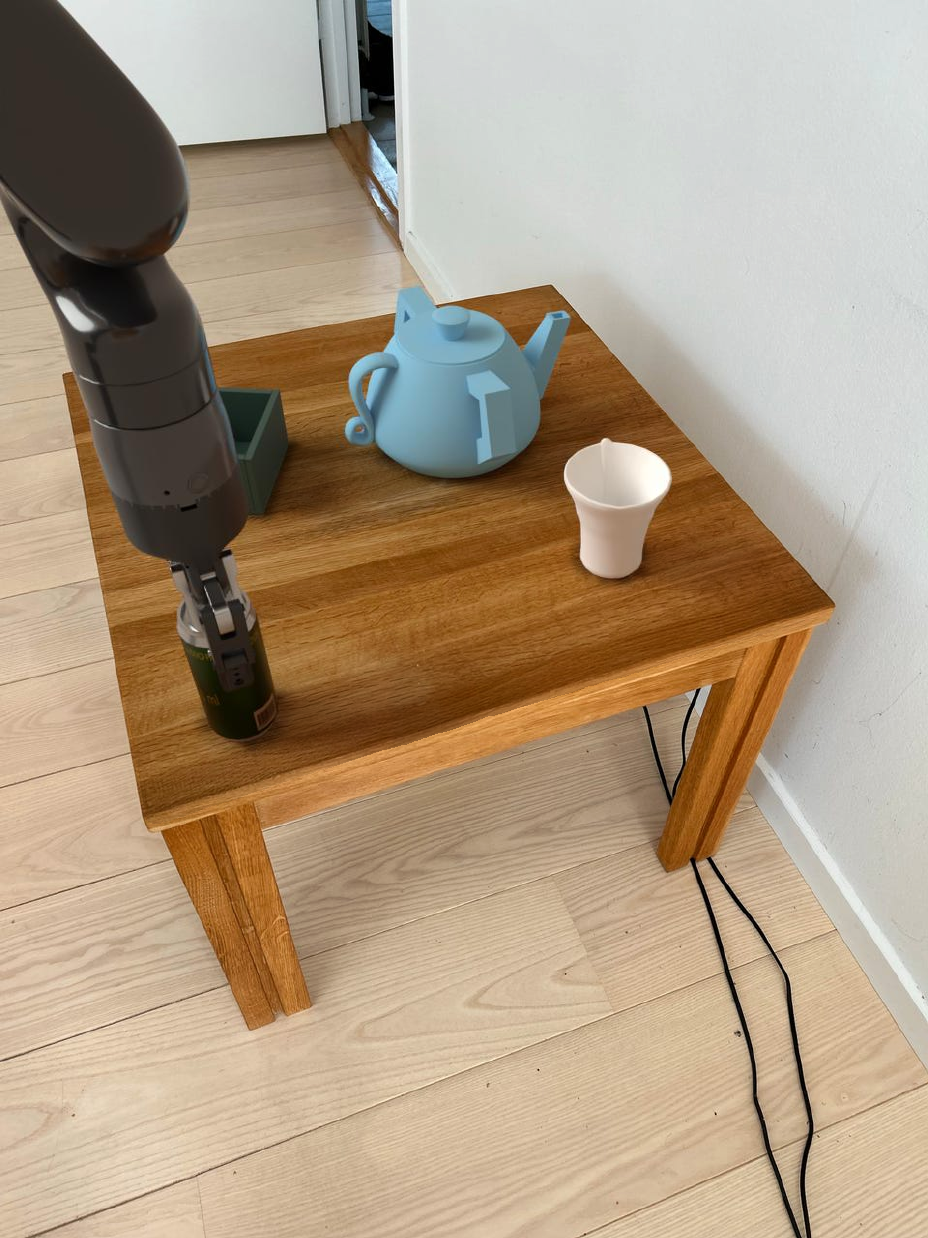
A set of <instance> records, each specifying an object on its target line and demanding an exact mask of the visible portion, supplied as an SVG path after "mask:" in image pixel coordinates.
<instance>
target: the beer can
mask: <svg viewBox="0 0 928 1238" xmlns="http://www.w3.org/2000/svg"><path fill="white" fill-rule="evenodd" d="M239 589H240V592H241V596H242V599H243V602H244V605H245V609H246V615H245V619H246V623H247V627H248V631H249V636H250V640H251V644H252V648H253V649H254V651H255V654H256V657H255V661H256V662H255V663H252V664H251V667H252V671H253V674H254V678H255V681H254V682H253V684H251V685H249V686H246V687H243V688H240V689H237V690H234V691H231V692H225V691H224V690H223V687H222V685H221V682H220V679H219V675H218V672H217V669H216V670H214V668H213V665H212V663H213V659H212V657H209V655H208V652H207V650H209V648H208V645H207V642H206V639H205V635H204V633H203V632H199V631H197V630H195V628H194V627H193V624H192V622H191V619H190V616H189V613H188V610H187V607H186V604H185V601H184V598H183V599H182V600H181V601H180V603H179V605H178V607H177V608H176V609H177V610H176V630H177V633H178V636H179V639H180V642H181V645H182V648H183V651H184V654H185V657H186V660H187V663H188V666H189V669H190V672H191V675H192V678H193V681H194V685H195V687H196V690H197V693H198V696H199V699H200V702H201V705H202V708H203V711H204V714H205V716H206V720H207V723H208V726H209V727H210V729H211V730H212V731H213V733H215V734H216V735H217V736H218V737H220V738H222V739H224V740H227V741H229V742H235V743H246V742H251V741H253V740H256V739H259V738H260V737H262V736H264V735H265V734H266V733H267V732H268V731H269V730H270V729H271V727H272V726H273V725H274V722H275V720H276V717H277V716H278V713H279V702H278V697H277V692H276V688H275V685H274V681H273V677H272V673H271V669H270V663H269V660H268V656H267V652H266V647H265V642H264V640H263V635H262V630H261V626H260V623H259V619H258V613H257V610H256V608H255V605H254V604H253V602H252V601H251V600H250V598H249V596H248V594H247V593H246V592H245V590H243V589H242V588H241V587H239ZM191 594H192V592H191ZM192 597H193V594H192ZM193 600H194V603H195V606H196V609H197V611H198V612H199V610H202V609H205V608H208V607H210V604H209V605H200V604H199V605H197V602H196V601H195V599H194V597H193ZM225 600H226V602H228V601H231V600H232V595H231V592H230V588H229V592H228V596H227V597H226V598H225Z"/></svg>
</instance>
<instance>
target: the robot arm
mask: <svg viewBox="0 0 928 1238" xmlns="http://www.w3.org/2000/svg"><path fill="white" fill-rule="evenodd" d="M0 203H1V205H2V208H3V211H4V212H5V215H6V217H7V219H8V221H9V224H10V226H11V228H12V230H13V233H14V235H15V237H16V239H17V241H18V243H19V245H20V248H21V249H22V252H23V254H24V256H25V257H26V260H27V262H28V263H29V265H30V268H31V270H32V272H33V275H34V276H35V278H36V280H37V282H38V284H39V286H40V288H41V290H42V291H43V293H44V295H45V297H46V299H47V301H48V303H49V306H50V308H51V310H52V312H53V315H54V318H55V320H56V322H57V325H58V328H59V331H60V333H61V337H62V340H63V341H62V342H63V344H64V345H63V346H64V348H65V353H66V356H67V359H68V361H69V365H70V368H71V371H72V374H73V376H74V379H75V382H76V386H77V388H78V391H79V393H80V396H81V399H82V403H83V405H84V408H85V410H86V413H87V418H88V422H89V428H90V434H91V439H92V444H93V447H94V449H95V453H96V456H97V459H98V462H99V464H100V467H101V469H102V473H103V475H104V478H105V482H106V483H107V487H108V489H109V492H110V495H111V498H112V501H113V503H114V507H115V509H116V511H117V515H118V517H119V520H120V523H121V526H122V529H123V531H124V534H125V537H126V538H127V540H128V541H129V542H130V543H131V545H132V546H133V547H134V548H136V549H137V550H138V551H139V552H141V553H144V555H147V556H150V557H153V558H157V559H162V560H165V561H166V563H167V564H168V568H169V572H170V575H171V577H172V581H173V583H174V586H175V589H176V590H177V591H178V592H180V593H181V594H182V595H181V596H182V598H183V599H184V601H185V604H186V607H187V610H188V613H189V616H190V619H191V622H192V624H193V627H194V628H195V630H197V631H199V632H203V633H204V635H205V639H206V642H207V645H208V648H209V650H207V652H208V655H209V657H212V659H213V663H212V665H213V668H214V670H216V669H217V672H218V675H219V679H220V682H221V685H222V687H223V690H224V691H225V692H231V691H234V690H237V689H240V688H243V687H246V686H249V685H251V684H253V682H254V681H255V678H254V674H253V671H252V667H251V664H252V663H255V662H256V661H255V657H256V654H255V651H254V649H253V648H252V644H251V640H250V636H249V631H248V627H247V623H246V619H245V615H246V609H245V605H244V602H243V599H242V596H241V592H240V589H241V588H240V585H239V582H238V580H237V576H238V573H239V569H238V565H237V562H236V559H235V556H234V553H233V551H232V548H231V547H230V546H229V547H227V546H228V545H229V544H230V543H231V542H233V541H234V540H235V539H236V538H237V537H239V535H240V533H241V532H242V531H243V529H244V528H245V525H246V524H247V521H248V519H249V515H250V514H249V506H248V501H247V496H246V492H245V487H244V483H243V478H242V474H241V469H240V465H239V460H238V456H237V452H236V447H235V443H234V438H233V434H232V429H231V425H230V421H229V417H228V414H227V411H226V408H225V405H224V403H223V400H222V398H221V395H220V393H219V390H218V387H219V386H218V384H217V381H216V376H215V371H214V367H213V363H212V358H211V354H210V350H209V346H208V345H209V344H208V341H207V335H206V331H205V328H204V324H203V321H202V317H201V314H200V312H199V308H198V307H197V305H196V302H195V300H194V298H193V297H192V295H191V293H190V292H189V290H188V289H187V287H186V286H185V284H184V283H183V282H182V281H181V279H180V278H179V277H178V275H177V274H176V273H175V271H174V270H173V268H172V266H171V264H170V263H169V260H168V258H167V256H166V253H167V252H168V251H170V249H172V247H173V246H174V245H175V244H176V243H177V241H178V240H179V238H180V237H181V235H182V233H183V231H184V229H185V226H186V223H187V221H188V217H189V212H190V207H191V204H190V203H191V185H190V178H189V174H188V169H187V166H186V163H185V159H184V156H183V154H182V152H181V150H180V147H179V145H178V143H177V141H176V140H175V138H174V136H173V134H172V132H171V131H170V130H169V128H168V126H167V125H166V124H165V122H164V121H163V119H162V118H161V117H160V115H159V114H158V112H157V111H156V110H155V108H154V107H153V106H152V104H150V102H149V101H148V100H147V99H146V97H145V96H144V95H143V94H142V92H141V91H140V90H139V89H138V88H137V87H136V85H135V84H134V83H133V82H132V81H131V80H130V78H129V77H128V76H127V75H126V74H125V73H124V72H123V71H122V69H121V68H120V67H119V66H118V65H117V64H116V62H114V60H113V59H112V58H111V57H110V56H109V55H108V53H106V51H105V50H104V49H103V48H102V47H101V46H100V45H99V44H98V43H97V42H96V40H95V39H94V38H93V37H92V36H91V35H90V34H89V32H87V31H86V30H85V28H84V27H83V26H82V25H81V24H80V23H79V21H77V19H76V18H75V17H74V16H73V15H72V14H71V13H70V12H69V10H68V9H67V8H66V7H65V6H64V5H63V4H62V3H61V2H60V1H59V0H0ZM229 588H230V592H231V595H232V600H231V601H228V602H226V600H225V598H226V597H227V596H228V592H229ZM239 588H240V589H239ZM191 592H192V594H193V597H194V599H195V601H196V602H197V605H199V604H200V605H209V604H210V607H208V608H205V609H202V610H199V612H198V611H197V609H196V606H195V603H194V600H193V597H192V594H191Z"/></svg>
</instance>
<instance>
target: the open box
mask: <svg viewBox="0 0 928 1238" xmlns="http://www.w3.org/2000/svg"><path fill="white" fill-rule="evenodd" d="M217 387H218V390H219V393H220V395H221V398H222V400H223V403H224V405H225V408H226V411H227V414H228V417H229V421H230V425H231V429H232V434H233V438H234V443H235V447H236V452H237V456H238V460H239V465H240V469H241V474H242V478H243V483H244V487H245V492H246V496H247V501H248V506H249V514H248V515H257V516H264V513H265V511H266V508H267V505H268V503H269V499H270V497H271V494H272V492H273V490H274V486H275V484H276V481H277V478H278V476H279V472H280V470H281V468H282V465H283V463H284V459H285V456H286V454H287V451H288V448H289V446H290V441H289V435H288V429H287V424H286V417H285V412H284V406H283V400H282V394H281V390H280V389H268V388H265V389H264V388H245V387H223V386H217Z"/></svg>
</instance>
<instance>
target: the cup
mask: <svg viewBox="0 0 928 1238" xmlns="http://www.w3.org/2000/svg"><path fill="white" fill-rule="evenodd" d="M563 478H564V479H563V480H564V483H565V487H566V489H567V491H568V492H569V494H570V496H571V497H572V499H573V501H574V503H575V510H576V514H577V516H578V519H579V523H580V524H579V525H580V526H579V527H580V549H579V559H580V561H581V563H582V565H583V567H584V568H585V569H587V570H588V571H589V572H590V573H591V574H593V575H595V576H598V577H601V578H603V579H604V578H605V579H611V580H612V579H621V578H626V577H627V576H630V575H631V574H632V573H634V572H635V571H636V570H638V569H639V567H640V566H641V564H642V562H643V561H642V559H643V547H644V542H645V538H646V534H647V533H648V528H649V525H650V523H651V521H652V519H653V518H654V514H655V511H656V509H657V507H658V506H659V504H660V503H661V502H662V500H664V498H665V497H666V496H667V494H668V492H669V491H670V489H671V485H672V481H673V477H672V471H671V469H670V467H669V465H668V464H667V463H666V461H665V460H663V458H662V457H660V456H659V455H657V454H656V453H654V452H652V451H650V450H649V449H647V448H645V447H642V446H638V445H635V444H632V443H625V442H617V441H616V442H615V441H612V440H611V439H610V438H608V437H606V438H603V439H602V440H601V441H600V442H598V443H595V444H592V445H589V446H586V447H584V448H582V449H580V450H578V451H577V452H576V453H574V454H573V455H572V456H571V457H570V458H569V459H568V461H567V462H566V463H565V467H564V471H563Z"/></svg>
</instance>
